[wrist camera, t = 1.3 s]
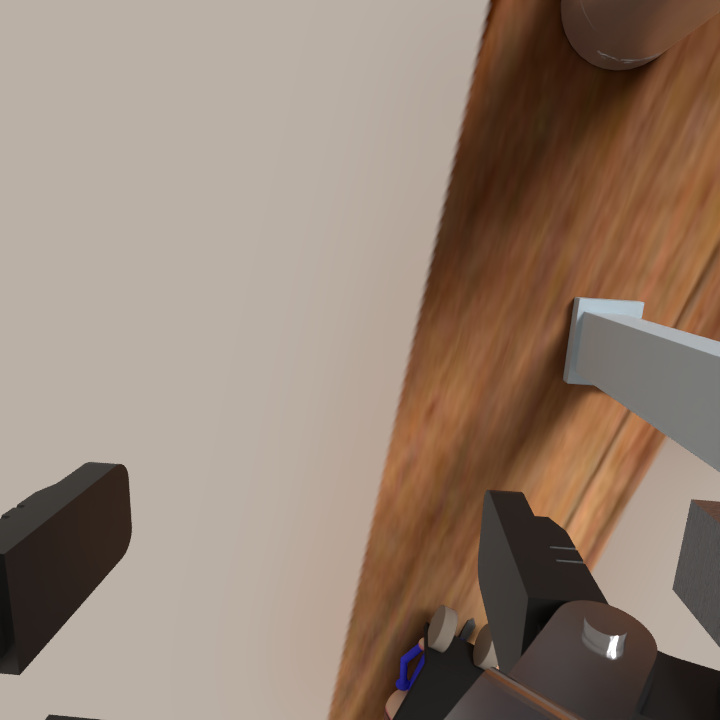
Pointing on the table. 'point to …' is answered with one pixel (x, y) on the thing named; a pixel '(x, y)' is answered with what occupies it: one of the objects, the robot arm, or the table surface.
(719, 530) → the grey handled tool
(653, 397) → the post
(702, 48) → the table surface
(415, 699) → the figurine character
